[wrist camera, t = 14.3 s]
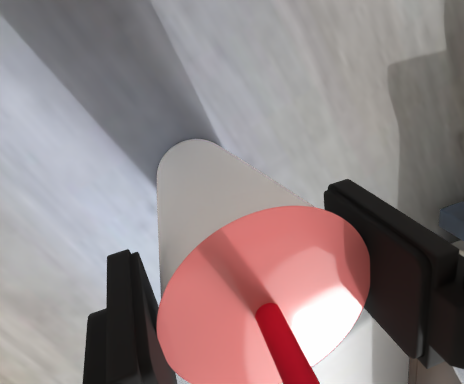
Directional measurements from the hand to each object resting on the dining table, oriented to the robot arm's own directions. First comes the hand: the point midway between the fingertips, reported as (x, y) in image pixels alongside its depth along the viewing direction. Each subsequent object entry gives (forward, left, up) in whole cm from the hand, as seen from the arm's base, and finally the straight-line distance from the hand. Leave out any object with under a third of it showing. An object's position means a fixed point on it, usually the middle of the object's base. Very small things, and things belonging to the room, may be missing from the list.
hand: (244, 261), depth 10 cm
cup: (0, 0, -7) cm, 7 cm away
